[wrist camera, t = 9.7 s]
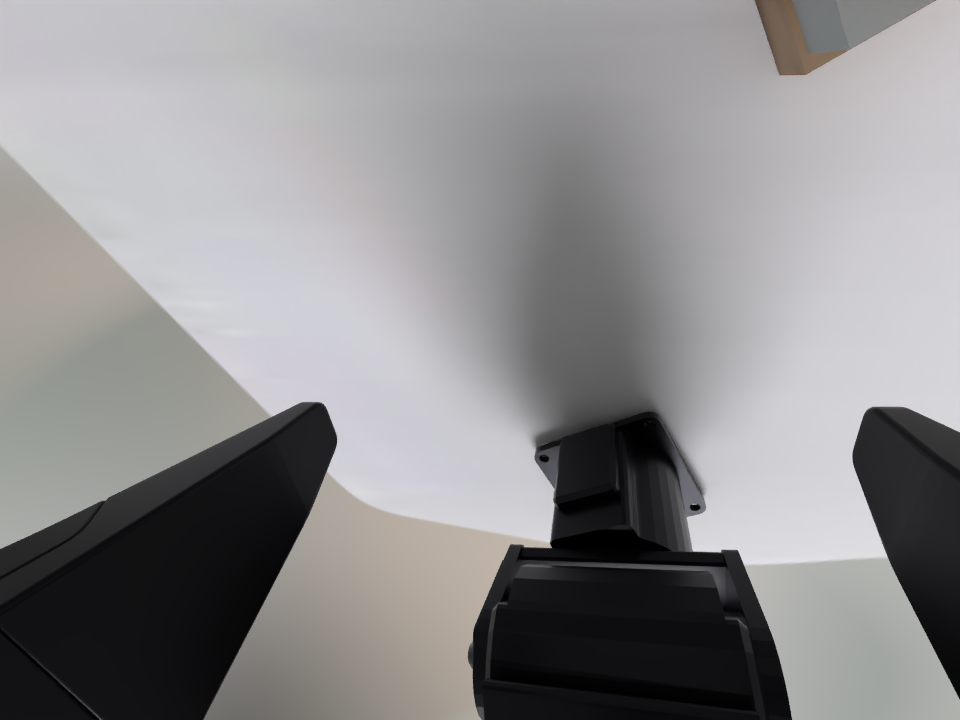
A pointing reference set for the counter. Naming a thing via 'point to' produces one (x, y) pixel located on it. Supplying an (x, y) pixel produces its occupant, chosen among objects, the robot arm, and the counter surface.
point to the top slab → (848, 20)
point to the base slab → (790, 39)
